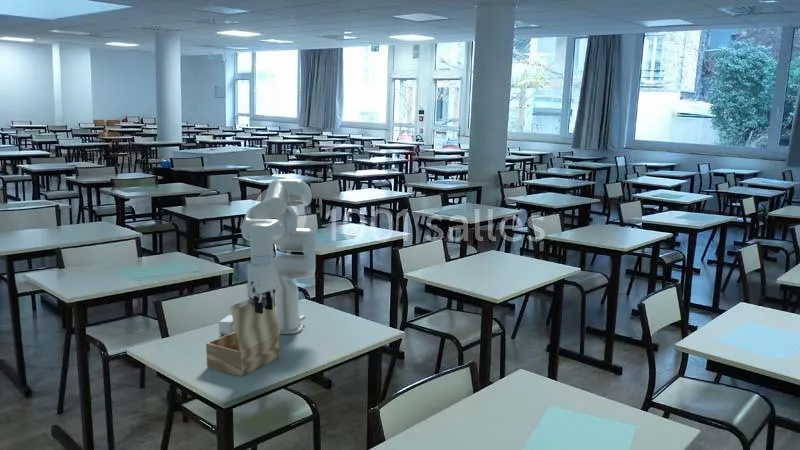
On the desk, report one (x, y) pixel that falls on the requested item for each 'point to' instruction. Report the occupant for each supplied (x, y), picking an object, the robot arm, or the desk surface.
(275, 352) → the wooden box
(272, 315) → the wooden box lid
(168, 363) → the desk surface
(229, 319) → the ink box
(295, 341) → the desk surface
